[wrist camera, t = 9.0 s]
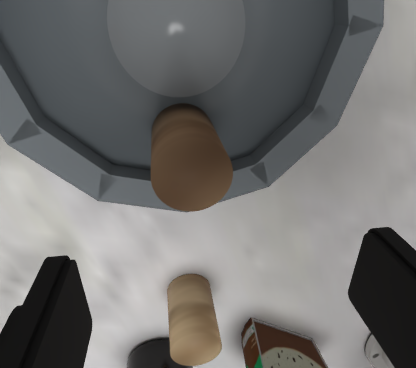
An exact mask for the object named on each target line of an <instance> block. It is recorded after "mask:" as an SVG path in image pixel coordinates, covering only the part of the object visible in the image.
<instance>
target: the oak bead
mask: <svg viewBox="0 0 416 368" xmlns="http://www.w3.org/2000/svg"><path fill="white" fill-rule="evenodd" d="M167 295H168V317H169V338H170V355H171V358H172V359H173V360H174V361H175V362H176V363H178V364H181V365H185V366H196V365H201V364H205V363H207V362H209V361H211V360H213V359H214V358H215V357H217V356H218V354H219V353H220V351H221V349H222V344H221V339H220V334H219V329H218V324H217V319H216V314H215V309H214V304H213V299H212V294H211V289H210V284H209V282H208V280H207V279H206V278H204V277H203V276H200V275H197V274H186V275H182V276H179V277H177V278H176V279H174V280H173V281H172V282H171V283H170V284H169V286H168V289H167Z"/></svg>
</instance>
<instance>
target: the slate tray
mask: <svg viewBox="0 0 416 368" xmlns="http://www.w3.org/2000/svg"><path fill="white" fill-rule="evenodd" d="M383 20H384V0H0V134H1V136H2V137H3V139H4V140H5V142H6V143H7V144H8V145H9V146H11V147H12V148H14V149H16V150H17V151H19V152H20V153H22V154H24V155H25V156H27V157H28V158H30V159H32V160H33V161H35V162H36V163H38V164H40V165H41V166H43V167H44V168H46V169H48V170H49V171H51V172H53V173H54V174H56V175H57V176H59V177H61V178H62V179H64V180H65V181H67V182H69V183H70V184H72V185H73V186H75V187H77V188H78V189H80V190H81V191H83V192H85V193H86V194H88V195H89V196H91V197H93V198H94V199H96V200H97V201H103V202H111V203H119V204H126V205H134V206H142V207H150V208H157V209H165V210H173V211H180V212H190V211H181V210H177V209H174V208H171V207H169V206H168V205H166V204H165V203H163V202H162V201H161V200H160V199H159V198H158V197H157V195H156V194H155V192H154V190H153V187H152V184H151V134H152V126H153V123H154V120H155V119H156V117H157V116H158V114H159V113H160V112H161V111H162V110H164V109H165V108H167V107H169V106H171V105H174V104H179V103H186V104H191V105H194V106H197V107H199V108H200V109H202V110H203V111H204V112H205V113H206V114H207V115H208V117H209V119H210V120H211V122H212V124H213V126H214V128H215V130H216V132H217V134H218V136H219V138H220V140H221V142H222V144H223V146H224V148H225V150H226V152H227V154H228V156H229V158H230V160H231V163H232V167H233V179H232V183H231V185H230V188H229V190H228V191H227V193H226V194H225V196H224V197H223V198H222V199H221V200H220V201H218V202H222V201H225V200H228V199H231V198H234V197H237V196H241V195H244V194H247V193H250V192H253V191H257V190H260V189H263V188H266V187H269V186H270V185H271V184H272V183H273V182H274V181H275V180H277V179H278V178H279V177H280V176H281V175H282V174H283V173H284V172H286V171H287V170H288V169H289V168H290V167H291V166H292V165H293V164H294V163H296V162H297V161H298V160H299V159H300V158H301V157H302V156H303V155H305V154H306V153H307V152H308V151H309V150H310V149H311V148H312V147H313V146H315V145H316V144H317V143H318V142H319V141H320V140H321V139H322V138H324V137H325V136H326V135H327V134H328V133H329V132H330V131H331V130H332V129H334V128H335V127H336V126H337V124H338V122H339V120H340V118H341V116H342V114H343V112H344V109H345V107H346V105H347V103H348V101H349V99H350V96H351V94H352V92H353V90H354V88H355V86H356V83H357V81H358V79H359V77H360V75H361V73H362V70H363V68H364V66H365V64H366V62H367V60H368V57H369V55H370V53H371V51H372V49H373V47H374V44H375V42H376V40H377V38H378V36H379V34H380V31H381V29H382V27H383ZM218 202H217V203H218Z"/></svg>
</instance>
